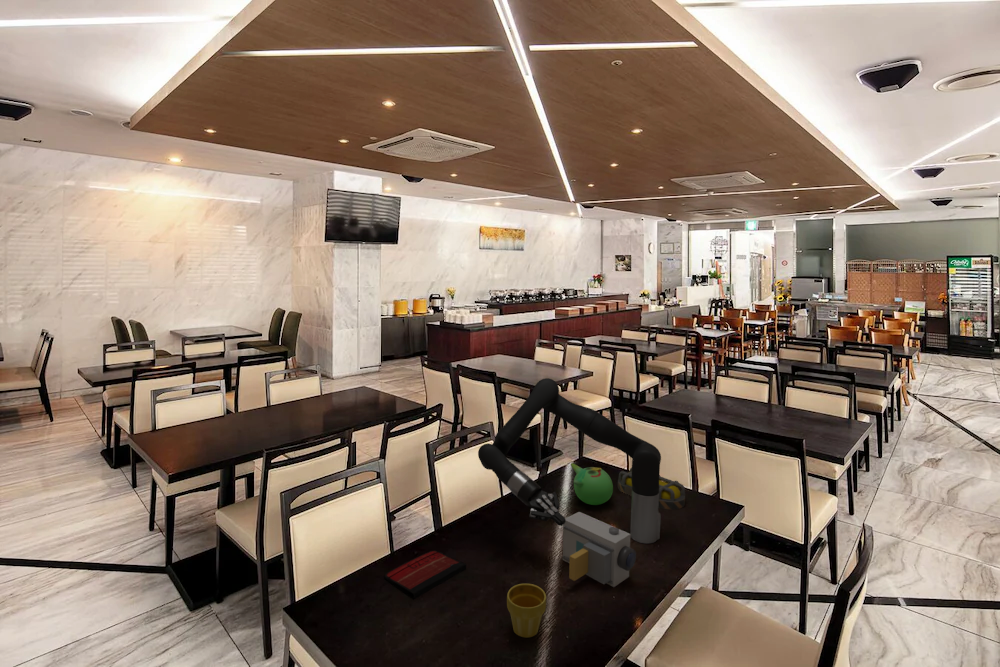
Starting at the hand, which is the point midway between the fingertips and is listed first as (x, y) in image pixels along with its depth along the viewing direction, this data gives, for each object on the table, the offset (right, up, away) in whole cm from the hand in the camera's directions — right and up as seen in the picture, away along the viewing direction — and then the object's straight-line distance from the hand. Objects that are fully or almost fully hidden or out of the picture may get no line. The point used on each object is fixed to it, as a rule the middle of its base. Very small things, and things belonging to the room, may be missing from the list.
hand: (563, 523), depth 164 cm
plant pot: (-13, -18, -27) cm, 35 cm away
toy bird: (+17, -9, +49) cm, 52 cm away
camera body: (+11, -15, 0) cm, 18 cm away
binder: (-44, -16, -1) cm, 47 cm away
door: (+7, -14, -9) cm, 18 cm away
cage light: (+43, -9, +55) cm, 71 cm away
